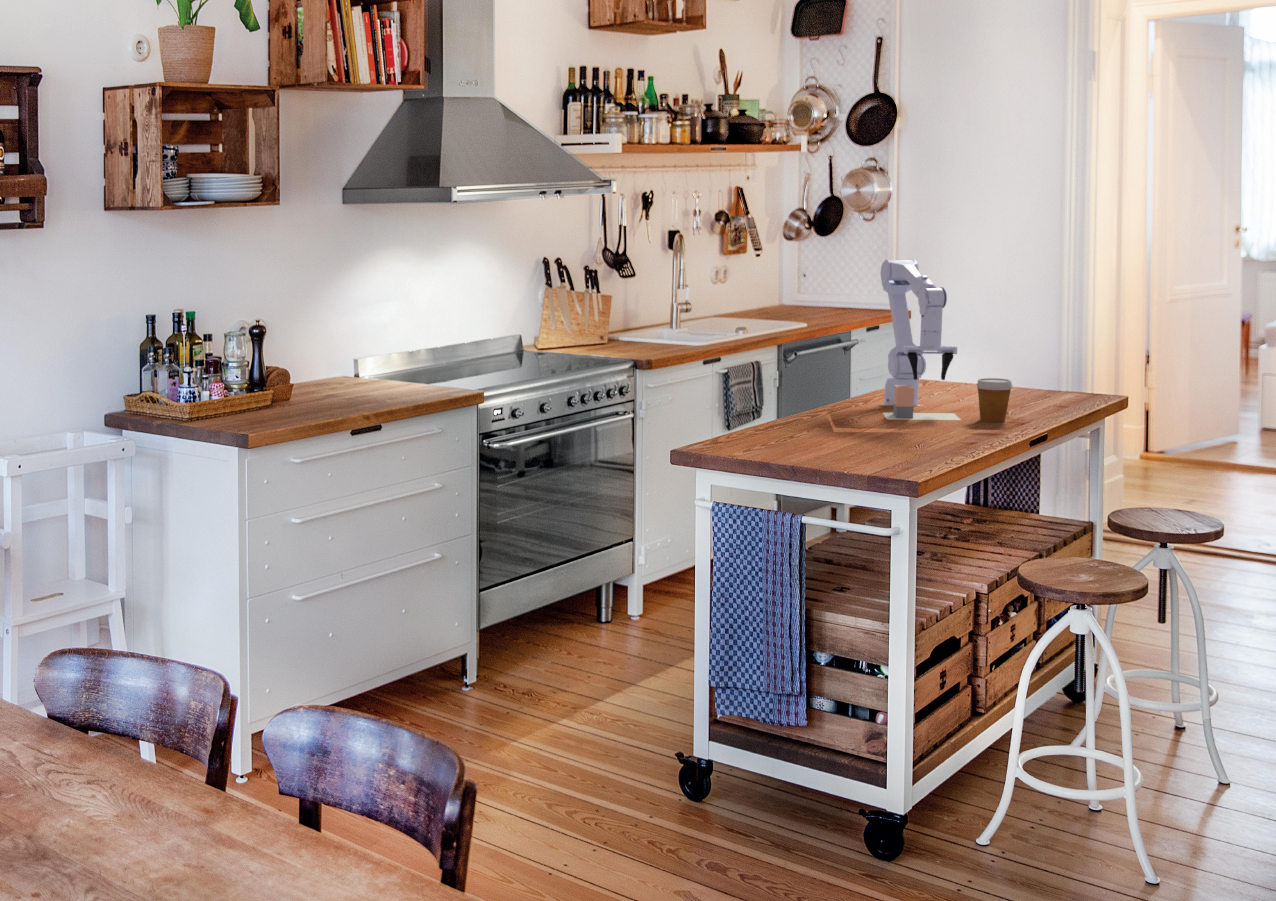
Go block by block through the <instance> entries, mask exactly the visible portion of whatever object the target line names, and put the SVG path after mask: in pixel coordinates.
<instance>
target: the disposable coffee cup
mask: <svg viewBox="0 0 1276 901" xmlns="http://www.w3.org/2000/svg"><path fill="white" fill-rule="evenodd" d="M975 385H976V388H977V392H978V393H977V396H978V408H979V409H978V410H979V420H980V421H981V422H984V423H1004V422H1006V418H1007V412H1008V406H1009V400H1010V394H1011V390H1012V387H1013V384H1012V380H1011V379H1007V378H998V377H997V378H995V377H993V378H991V377H990V378H989V377H987V378H978V379H977V383H976V384H975Z"/></svg>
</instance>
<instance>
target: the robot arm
mask: <svg viewBox="0 0 1276 901" xmlns="http://www.w3.org/2000/svg"><path fill="white" fill-rule="evenodd" d="M919 270H920V269H919V264H918V261H917V260H916V259H914V258H912V259H885V260H883V262H882V264H881V268H880V278H881V279H880V280H881V285H882V289H883V291H884V292H886V293H887V295H888V303H889V307H890V308H889V309H890V315H891V322H892V328H893V334H894V339H895V346H894V347H893V348H892V349H890V351H889V352H888V355H887V357H888V358H887V359H888V362H887V369H888V373H889V374H890V376H889V377H888V378H887V379H886V382H885V383H884V384H885V385H884V402H883V403H884V404H882V406H894V386H895V385H911V386H912V387H913V388H914V406H913V407H915V406H916V407H918V406H919V407H923V406H924V405H922V404H919V388H920V386H919V384H920V379H921V378H922V376H924V373H925V372H926V370H927V361H926V358H925V354H926V355H927V354H928V355H929V354H931V355H933V354H934V355H935V354H936V355H937V354H939V355H941V372H940V373H941V374H940V375H941V376H940V379H941V381H945V380H946V376H947V372H948V370H949V367H950V365H951V363H952V361H953V359H954V355H958V347H957V346H945V345H943V346H942V332H943V331H942V327H943V326H942V325H943V309H944V308H945V307H946V305H947V301H948V297H947V296H948V295H947V291H946V289H945V287H943V286H941V287H937V286H936V285H935V284H934V283H933V282H932V281H931V280H930V279H929V277H928V276H927V275H921V273H920V271H919ZM909 291H912V293H913V294H914V296H916V298H917V302H918V306H919V308H918V309H919V314H920V315H921V316H920V334H919V335H920V337H919V338H920V340H919V345H917V344H915V343H914V342H913V340H914V339H913V334H912V328H911V323H910V317H909V316H910V315H909V309H908V303H907V297H906V294H907V293H908V292H909Z"/></svg>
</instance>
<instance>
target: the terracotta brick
mask: <svg viewBox="0 0 1276 901" xmlns="http://www.w3.org/2000/svg"><path fill="white" fill-rule="evenodd" d="M894 404H895V405H896V406H897V407H913V408H914V407H915V406H914V388H913V387H912V386H911V385H895V386H894Z"/></svg>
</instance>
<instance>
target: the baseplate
mask: <svg viewBox="0 0 1276 901" xmlns="http://www.w3.org/2000/svg"><path fill="white" fill-rule="evenodd" d="M882 415H883V416H884V418H885V419H886V420H887V421H888V420H892V421H898V420H899V421H900V420H902V421H904V420H905V421H907V420H908V421H909V420H910V421H962V419H961V418H960V417H959V416H958V415H957V414H955V413H954V412H953V413H952V412H951V413H950V412H947V413H946V412H945V413H944V412H943V413H942V412H913V418H896V417H895V416H894V414H893V412H882Z"/></svg>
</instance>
